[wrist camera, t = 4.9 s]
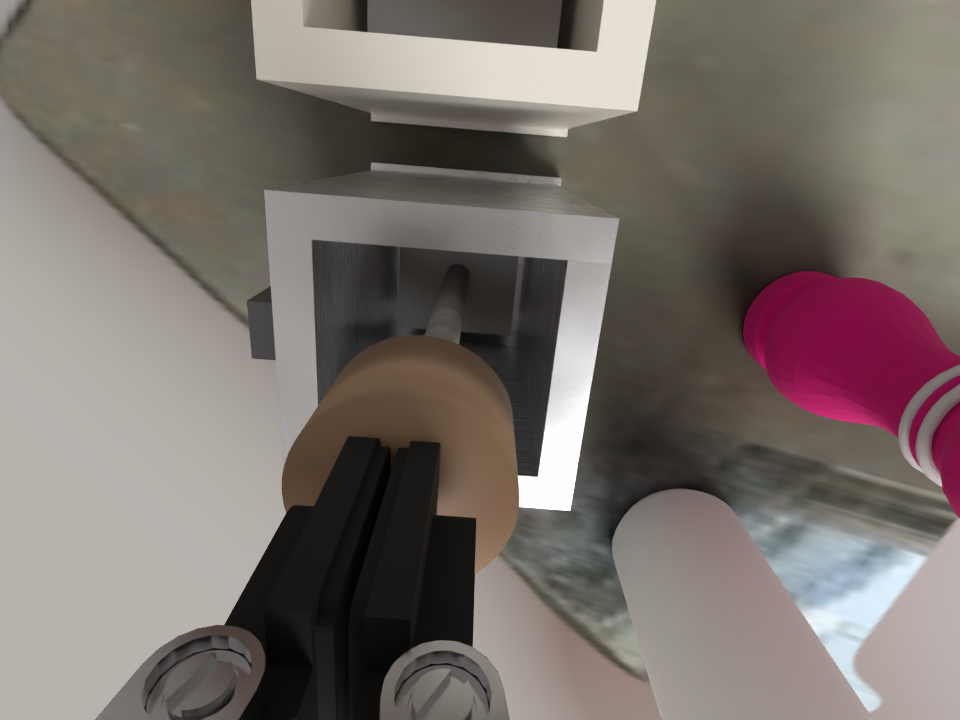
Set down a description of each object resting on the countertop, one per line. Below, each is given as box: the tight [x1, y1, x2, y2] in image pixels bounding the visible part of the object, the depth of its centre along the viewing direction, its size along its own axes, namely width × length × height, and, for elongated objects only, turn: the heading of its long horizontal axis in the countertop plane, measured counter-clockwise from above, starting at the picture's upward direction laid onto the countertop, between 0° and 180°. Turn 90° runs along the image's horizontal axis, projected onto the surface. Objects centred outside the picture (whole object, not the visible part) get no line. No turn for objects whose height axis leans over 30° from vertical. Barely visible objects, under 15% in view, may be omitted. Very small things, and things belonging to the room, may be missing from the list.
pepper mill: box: [743, 271, 960, 518], centre depth 22 cm, size 7×7×20 cm
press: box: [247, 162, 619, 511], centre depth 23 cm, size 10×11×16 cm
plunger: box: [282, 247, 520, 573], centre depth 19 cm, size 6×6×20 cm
